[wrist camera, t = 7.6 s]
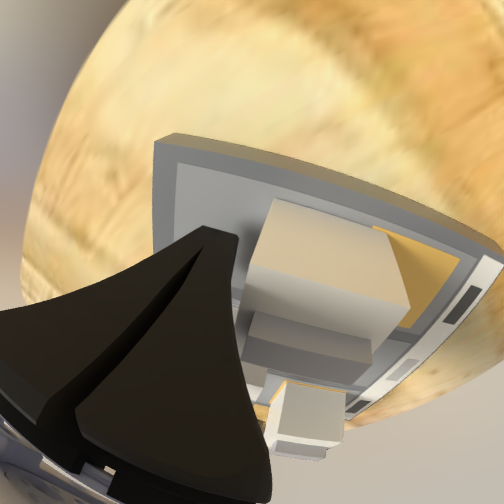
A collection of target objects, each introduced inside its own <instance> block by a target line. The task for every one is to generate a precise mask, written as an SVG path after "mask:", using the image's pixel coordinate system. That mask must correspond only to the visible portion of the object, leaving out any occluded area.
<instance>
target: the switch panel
mask: <svg viewBox="0 0 504 504" xmlns="http://www.w3.org/2000/svg"><path fill="white" fill-rule="evenodd" d="M273 198H277V199H280V200H284V201H287V202H291V203H294V204H297V205H301V206H304V207H308V208H311V209H314V210H317V211H321V212H324V213H327V214H330V215H333V216H337V217H340V218H343V219H346V220H349V221H352V222H355V223H358V224H361V225H364V226H367V227H370V228H373V229H376V230H378V231H381V232H384V233H386V234H387V236H388V239H389V242H390V245H391V247H392V250H393V253H394V256H395V259H396V261H397V264H398V267H399V270H400V274H401V277H402V280H403V283H404V286H405V290H406V293H407V296H408V300H409V304H410V307H411V308H410V310H409V311H408V312H407V314H406V315H405V316H404V317H403V319H402V320H401V321H400V322H399V324H398V325H397V326H396V327H395V329H394V330H393V331H392V332H391V333H390V335H389V336H388V337H387V338H386V339H385V340H384V342H383V343H382V344H381V345H380V346H379V347H378V348H377V349H376V351H375V352H374V353H373V354H372V361H373V365H372V366H371V367H370V368H369V369H368V370H367V371H366V372H365V373H363V374H362V375H361V376H360V377H359V378H358V379H357V380H356V381H355V382H354V383H353V384H352V385H346V384H343V385H342V384H336V383H331V382H325V381H320V380H315V379H310V378H306V377H301V376H296V375H292V374H288V373H283V372H279V371H275V370H271V369H268V371H267V375H266V380H265V384H264V388H263V390H262V391H261V393H260V395H259V396H258V398H257V400H256V401H255V404H259V405H263V406H267V407H270V405H271V403H272V401H273V400H274V399H275V397H276V396H277V395H278V393H279V392H280V391H281V389H282V388H283V386H284V385H285V384H286V382H290V383H295V384H299V385H304V386H309V387H314V388H319V389H325V390H330V391H336V392H342V393H346V401H345V420H351V419H352V418H354V417H355V416H357V415H358V414H360V413H361V412H363V411H364V410H366V409H367V408H368V407H370V406H371V405H373V404H374V403H375V402H377V401H378V400H379V399H381V398H382V397H383V396H385V395H386V394H387V393H388V392H390V391H391V390H392V389H393V388H395V387H396V386H397V385H398V384H400V383H401V382H402V381H403V380H404V379H405V378H407V377H408V376H409V375H410V374H411V373H412V372H414V371H415V370H416V369H417V368H418V367H419V366H420V365H421V364H422V363H423V362H425V361H426V360H427V359H428V358H429V357H430V356H431V355H432V354H433V353H434V352H435V351H436V350H437V349H438V348H439V347H440V346H441V345H442V344H443V343H444V342H445V341H446V340H447V339H448V338H449V337H450V335H451V334H452V333H453V332H454V331H455V330H456V329H457V328H458V327H459V326H460V324H461V323H462V322H463V321H464V320H465V319H466V317H467V316H468V315H469V314H470V313H471V312H472V310H473V309H474V308H475V307H476V305H477V304H478V303H479V302H480V300H481V299H482V298H483V296H484V295H485V294H486V292H487V291H488V290H489V288H490V287H491V286H492V284H493V283H494V281H495V280H496V278H497V277H498V276H499V274H500V273H501V271H502V270H503V268H504V253H503V251H502V250H501V249H500V247H499V246H498V245H497V244H496V242H495V241H493V240H492V239H490V238H488V237H486V236H485V235H483V234H481V233H479V232H477V231H475V230H474V229H472V228H470V227H468V226H466V225H464V224H462V223H460V222H458V221H456V220H454V219H452V218H450V217H448V216H446V215H444V214H442V213H440V212H437V211H435V210H433V209H431V208H429V207H427V206H424V205H422V204H420V203H418V202H415V201H413V200H411V199H408V198H406V197H403V196H401V195H399V194H396V193H394V192H391V191H389V190H386V189H383V188H381V187H378V186H376V185H373V184H370V183H368V182H365V181H362V180H359V179H357V178H354V177H351V176H348V175H345V174H342V173H339V172H336V171H333V170H330V169H327V168H324V167H320V166H317V165H314V164H310V163H307V162H304V161H300V160H297V159H293V158H290V157H286V156H282V155H278V154H275V153H271V152H267V151H263V150H259V149H255V148H250V147H246V146H241V145H237V144H232V143H228V142H223V141H218V140H213V139H207V138H202V137H196V136H190V135H184V134H178V133H173V134H170V135H168V136H166V137H163V138H161V139H159V140H157V141H154V157H153V189H152V220H153V252H154V254H155V253H157V252H159V251H160V250H162V249H164V248H165V247H167V246H169V245H170V244H172V243H174V242H175V241H177V240H179V239H180V238H182V237H184V236H185V235H187V234H188V233H190V232H192V231H193V230H195V229H197V228H199V227H200V226H202V225H204V226H208V227H211V228H215V229H219V230H222V231H226V232H229V233H233V234H237V236H238V237H239V242H238V248H237V253H236V258H235V263H234V269H233V274H232V279H231V295H232V306H234V307H237V308H239V306H240V302H241V297H242V293H243V289H244V285H245V281H246V277H247V272H248V268H249V264H250V261H251V258H252V256H253V253H254V250H255V247H256V245H257V242H258V239H259V237H260V234H261V231H262V228H263V226H264V223H265V220H266V217H267V215H268V212H269V209H270V207H271V204H272V201H273Z"/></svg>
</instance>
